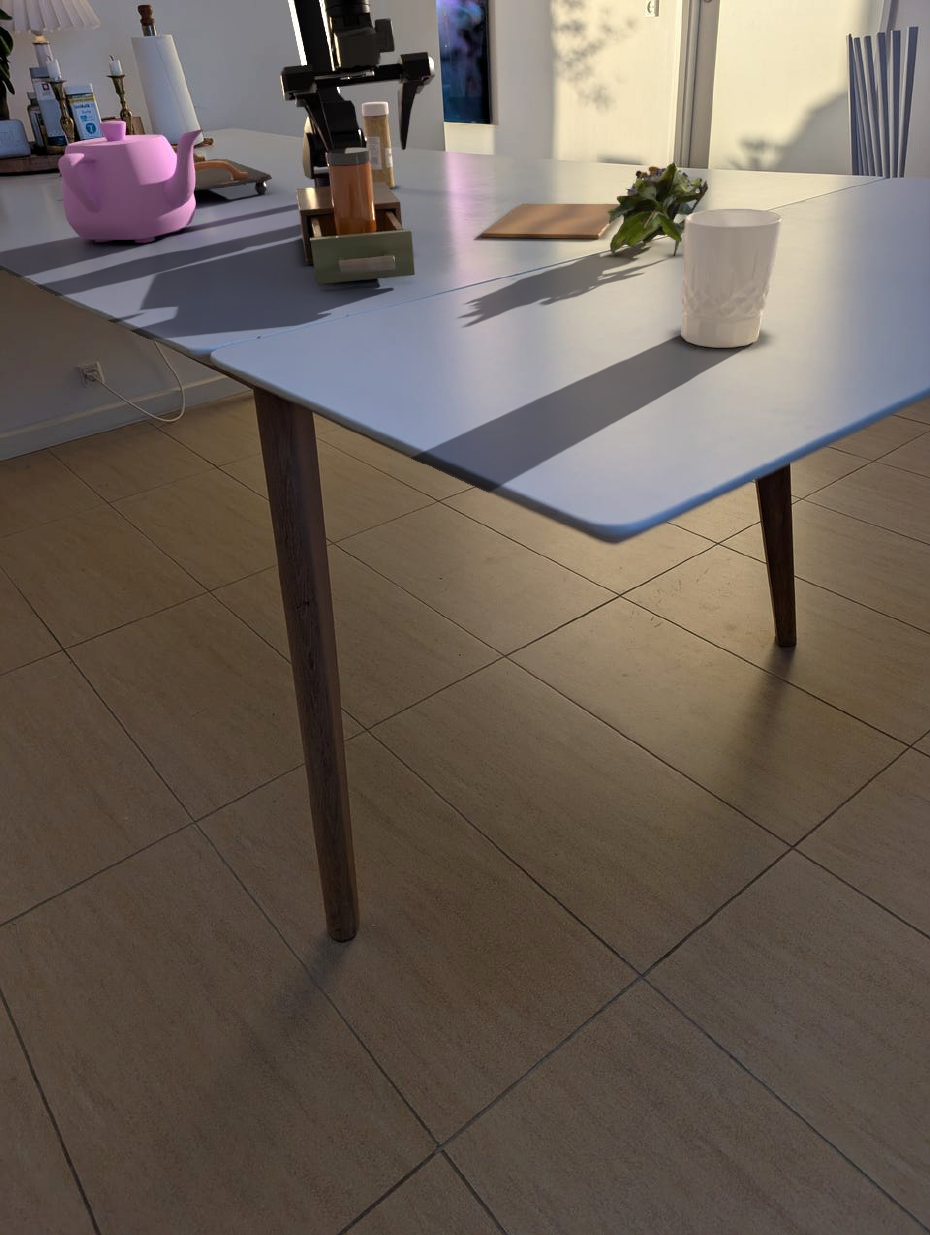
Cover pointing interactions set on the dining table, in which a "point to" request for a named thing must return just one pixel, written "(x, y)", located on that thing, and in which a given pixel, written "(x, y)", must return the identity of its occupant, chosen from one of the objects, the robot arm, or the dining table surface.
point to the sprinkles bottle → (378, 141)
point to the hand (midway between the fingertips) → (368, 153)
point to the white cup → (727, 274)
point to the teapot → (128, 185)
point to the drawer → (361, 250)
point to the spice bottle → (351, 190)
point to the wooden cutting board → (553, 221)
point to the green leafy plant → (655, 206)
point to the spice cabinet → (321, 203)
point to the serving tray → (225, 174)
